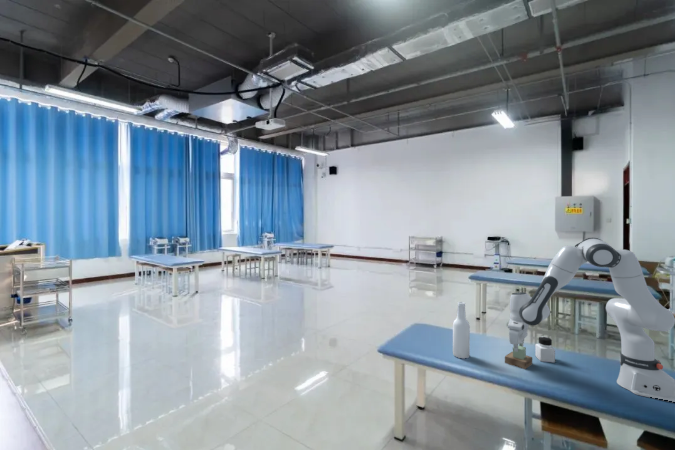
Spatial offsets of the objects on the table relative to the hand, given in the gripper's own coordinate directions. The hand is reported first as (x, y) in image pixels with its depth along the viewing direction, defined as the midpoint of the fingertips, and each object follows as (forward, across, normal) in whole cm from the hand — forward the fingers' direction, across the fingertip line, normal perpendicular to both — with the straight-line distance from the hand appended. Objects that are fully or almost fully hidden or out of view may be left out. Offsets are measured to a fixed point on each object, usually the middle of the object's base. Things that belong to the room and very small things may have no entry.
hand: (518, 348), depth 169 cm
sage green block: (+4, 0, 0) cm, 4 cm away
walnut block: (+8, 0, 0) cm, 8 cm away
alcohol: (+8, +12, -26) cm, 30 cm away
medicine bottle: (+8, -16, +9) cm, 20 cm away
